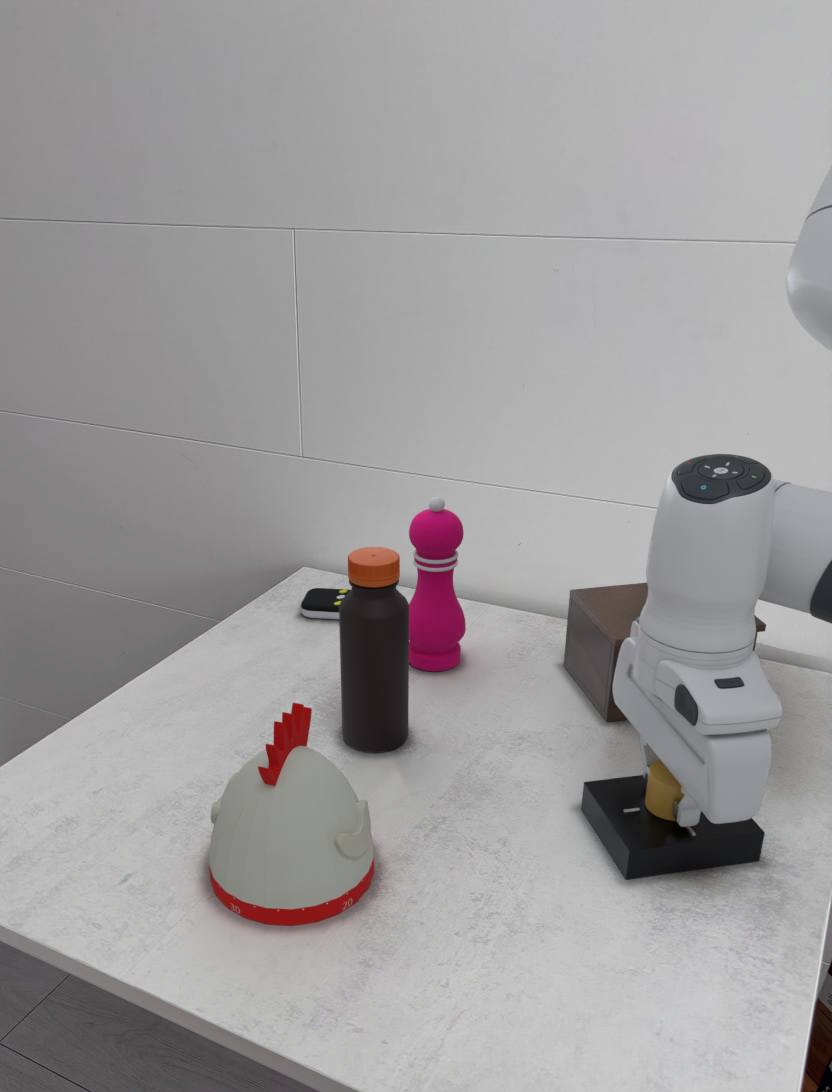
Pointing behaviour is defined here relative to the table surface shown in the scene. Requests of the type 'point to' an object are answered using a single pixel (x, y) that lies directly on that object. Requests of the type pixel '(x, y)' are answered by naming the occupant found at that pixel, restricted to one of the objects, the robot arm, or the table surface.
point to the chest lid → (618, 608)
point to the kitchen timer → (290, 833)
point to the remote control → (323, 603)
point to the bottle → (374, 652)
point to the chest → (593, 661)
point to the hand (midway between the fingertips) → (669, 801)
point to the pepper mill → (435, 590)
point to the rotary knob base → (662, 833)
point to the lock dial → (662, 791)
